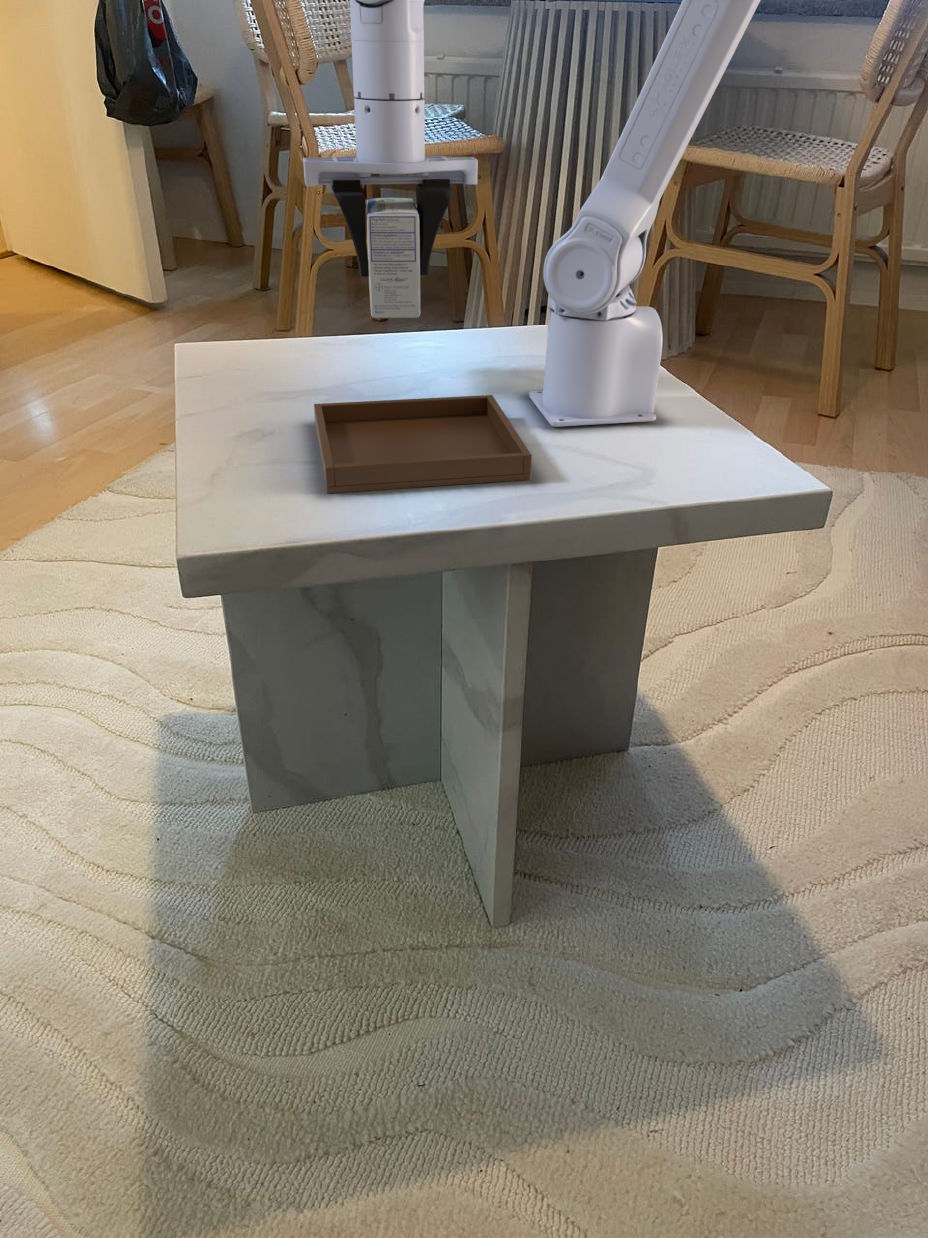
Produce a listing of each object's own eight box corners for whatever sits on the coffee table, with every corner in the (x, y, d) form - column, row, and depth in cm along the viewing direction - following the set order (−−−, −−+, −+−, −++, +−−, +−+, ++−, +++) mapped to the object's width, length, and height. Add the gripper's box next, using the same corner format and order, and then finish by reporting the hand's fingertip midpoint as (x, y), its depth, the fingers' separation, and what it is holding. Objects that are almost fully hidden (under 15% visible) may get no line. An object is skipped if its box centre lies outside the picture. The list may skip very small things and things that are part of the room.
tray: (491, 416, 79) (492, 394, 78) (530, 479, 69) (532, 455, 68) (315, 426, 77) (313, 403, 76) (327, 493, 66) (325, 468, 65)
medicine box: (420, 319, 80) (420, 212, 75) (369, 319, 80) (366, 211, 75) (415, 296, 87) (415, 197, 82) (368, 296, 86) (365, 196, 81)
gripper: (467, 95, 78) (465, 261, 86) (296, 94, 76) (309, 265, 83) (484, 101, 73) (480, 278, 80) (300, 100, 70) (313, 283, 78)
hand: (393, 273), depth 81 cm, fingers closed on medicine box, 4 cm apart
